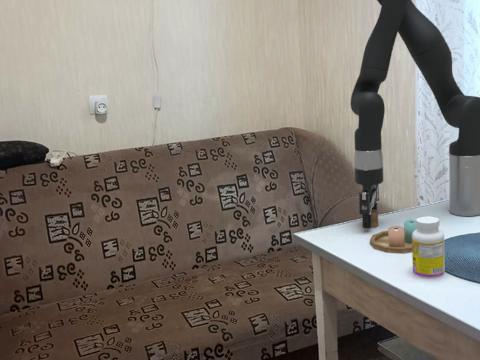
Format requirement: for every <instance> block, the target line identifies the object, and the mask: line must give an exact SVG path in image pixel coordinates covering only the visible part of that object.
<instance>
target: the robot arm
mask: <svg viewBox="0 0 480 360" xmlns="http://www.w3.org/2000/svg"><path fill="white" fill-rule="evenodd" d="M376 1H377V3H379V5H380V6H381V7H380V10H379V11H380V12H379V15H378V18H377V20H376V23H375V25H374V27H373V30H372V32H371V33H370V36H369V37H368V39H367V41H366V45H365V48H364V51H363V55H362V61H361V65H360V70H359V71H360V72H359V75H358V77H357V79H356V81H355V85H354V87H353V90H352V93H351V97H350V108H351V109H350V110H351V111H352V113H354V114H355V116H358V126H357V128H355V130H354V156H353V160H354V163H353V164H354V183H355V184H357V185H360V186H362V189H360V192H358V193H359V194H358V196H359V198H358V201H359V204H358V205H359V215H362V216H361V219H362V228H363V229H372V228H371V210H372V209H375V210H377V211H378V205H379V201H380V187H379V186H380V184H381V185H382V184H383V182H384V157H383V148H382V130H383V125H384V120H385V119H384V118H385V112H386V111H385V110H386V109H385V108H386V107H385V101H384V99H383V97H382V96H381V94H379V90H380V87H381V84H382V83H383V82H385V81H386V79H387V76H388V73H389V72H388V71H389V68H390V64H391V59H392V55H393V50H394V46H395V43H396V39H397V35H399V37H400V38H401V40H402V41H403V43H404V44H405V47H406V49H407V51H408V53H409V54H410V56H411V58H412V60H413V61H414V63H415V65H416V66H417V68H418V70H419V71H420V72H421V75H422V77H423V78H424V80H425V82H426V83H427V85H428V87H429V88H430V91H431V92H432V94H433V96H434V98H435V101H436V103H437V106H438V108H439V110H440V113H441V115H442V117H443V119H444V120H445V122H446V123H447V124H448V125H449V126H451V127H452V128H455V129H458V134H457V135H458V136H457V139H456V140H455V141H452V142H450V144H449V146H448V153H449V154H448V156H449V157H448V160H449V161H448V163H449V164H448V166H449V167H448V171H449V176H448V177H449V182H448V183H449V184H448V185H449V188H448V189H449V198H448V199H449V203H448V204H449V213H451V214H453V215H455V216H460V217H461V216H462V217H475V216H479V215H480V97H479V96H473V95H466V94H464V93H463V91H462V90H461V89H460V87H459V85H458V83H457V82H456V80H455V78H454V75H453V56H452V51H451V49H450V46H449V45H448V43H447V41H446V39H445V37H444V35H443V33H442V32H441V31H440V29H439V28H438V27H437V26H436V25H435V24H434V23H433V22H432V21H431V20H430V19H429V18H428V17H427V15H425V14H424V13H422V11H420V10H419V9H418V7H417V6H416V5H415V3H414V2H413V0H376ZM365 208H366V209H365Z"/></svg>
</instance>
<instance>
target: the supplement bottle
mask: <svg viewBox="0 0 480 360" xmlns="http://www.w3.org/2000/svg"><path fill="white" fill-rule="evenodd" d="M415 220H416V225H417V227H418V229H416V230H415V231H414V232H413V234H412V257H411V258H412V273H413V275H414V276H416V277H419V278H422V279H438V278H440V277H442V276H444V275H445V273H446V271H445V270H446V269H445V268H446V267H445V262H446V261H445V233H444V232H443V231H442V230H441V229H440V228H439V227H440V219H439V218H438V217H435V216H421V217H418V218H417V219H415Z"/></svg>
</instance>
